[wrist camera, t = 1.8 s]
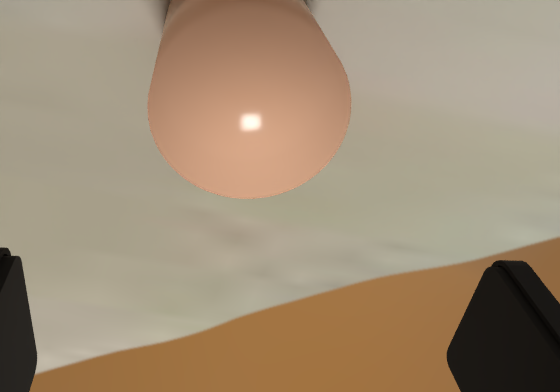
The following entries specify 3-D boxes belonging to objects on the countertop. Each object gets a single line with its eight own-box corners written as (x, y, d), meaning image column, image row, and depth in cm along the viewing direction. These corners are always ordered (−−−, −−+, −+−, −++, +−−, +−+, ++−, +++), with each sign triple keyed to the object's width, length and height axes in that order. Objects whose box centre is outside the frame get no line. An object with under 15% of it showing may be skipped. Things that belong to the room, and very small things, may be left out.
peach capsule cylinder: (321, -33, 24) (372, 24, 17) (297, 107, 28) (329, 203, 20) (167, -53, 23) (147, -2, 15) (163, 95, 27) (147, 193, 19)
